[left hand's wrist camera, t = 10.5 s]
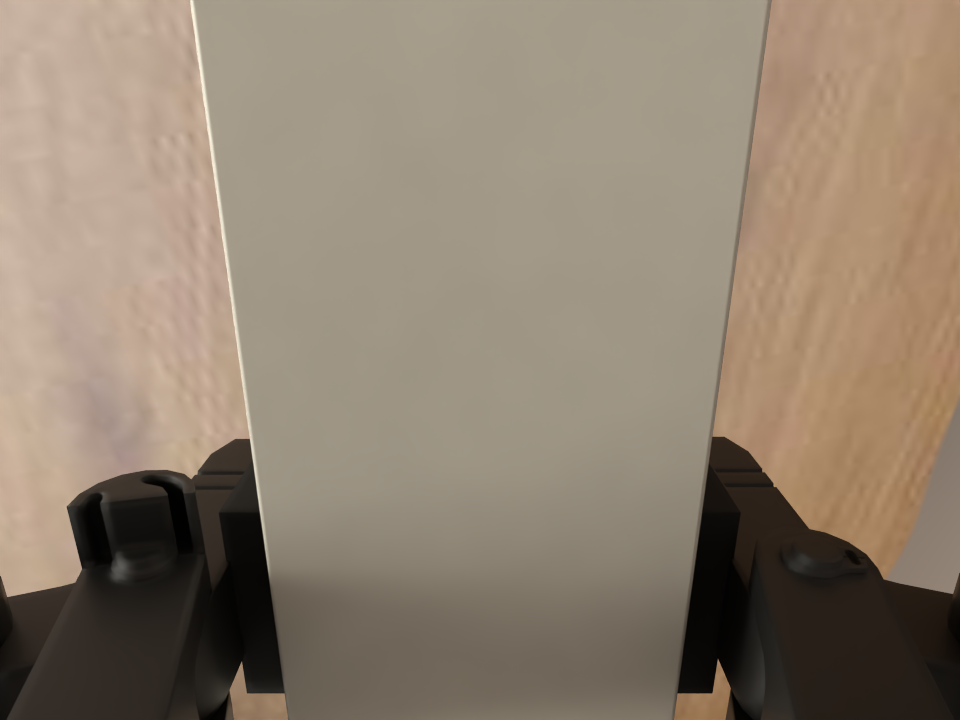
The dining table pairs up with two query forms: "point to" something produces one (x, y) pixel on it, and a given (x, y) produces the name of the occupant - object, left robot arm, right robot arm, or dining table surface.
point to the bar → (480, 335)
